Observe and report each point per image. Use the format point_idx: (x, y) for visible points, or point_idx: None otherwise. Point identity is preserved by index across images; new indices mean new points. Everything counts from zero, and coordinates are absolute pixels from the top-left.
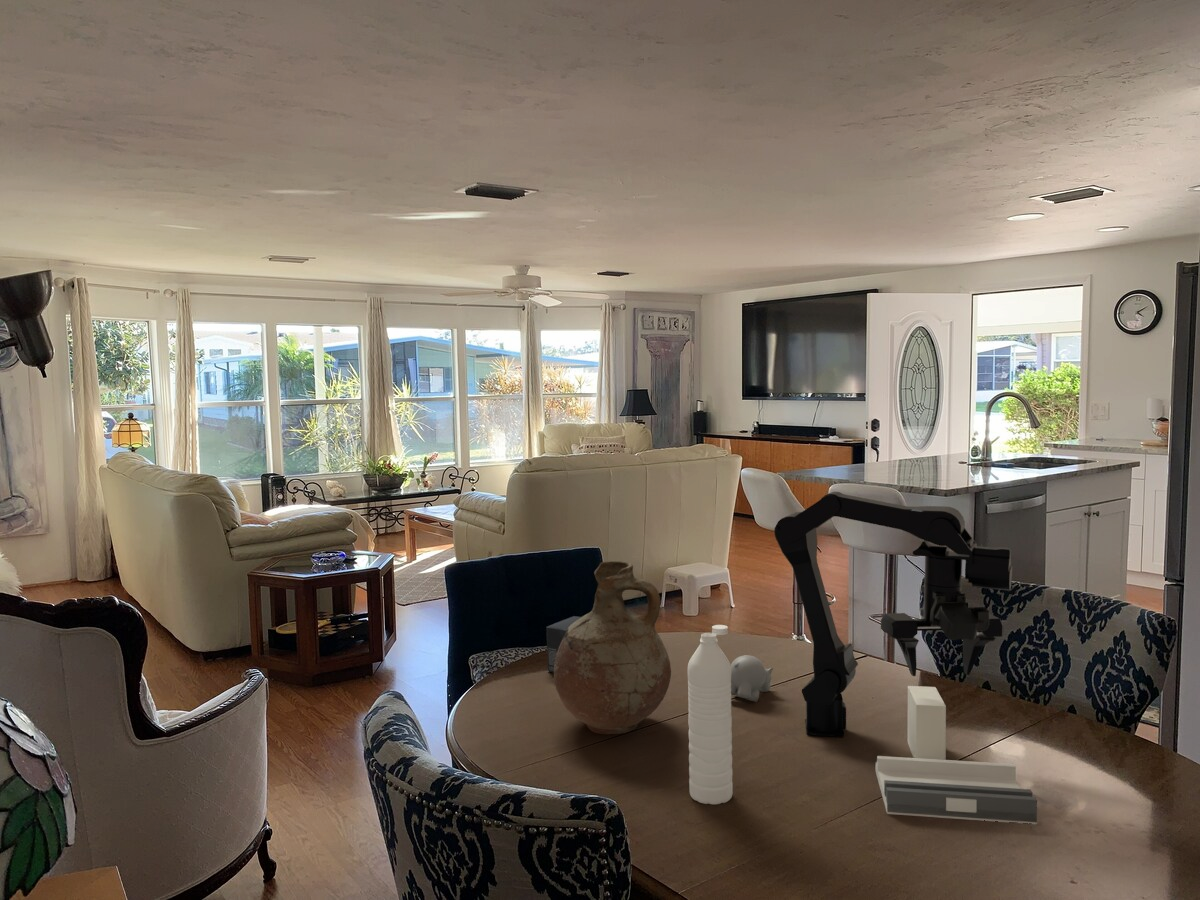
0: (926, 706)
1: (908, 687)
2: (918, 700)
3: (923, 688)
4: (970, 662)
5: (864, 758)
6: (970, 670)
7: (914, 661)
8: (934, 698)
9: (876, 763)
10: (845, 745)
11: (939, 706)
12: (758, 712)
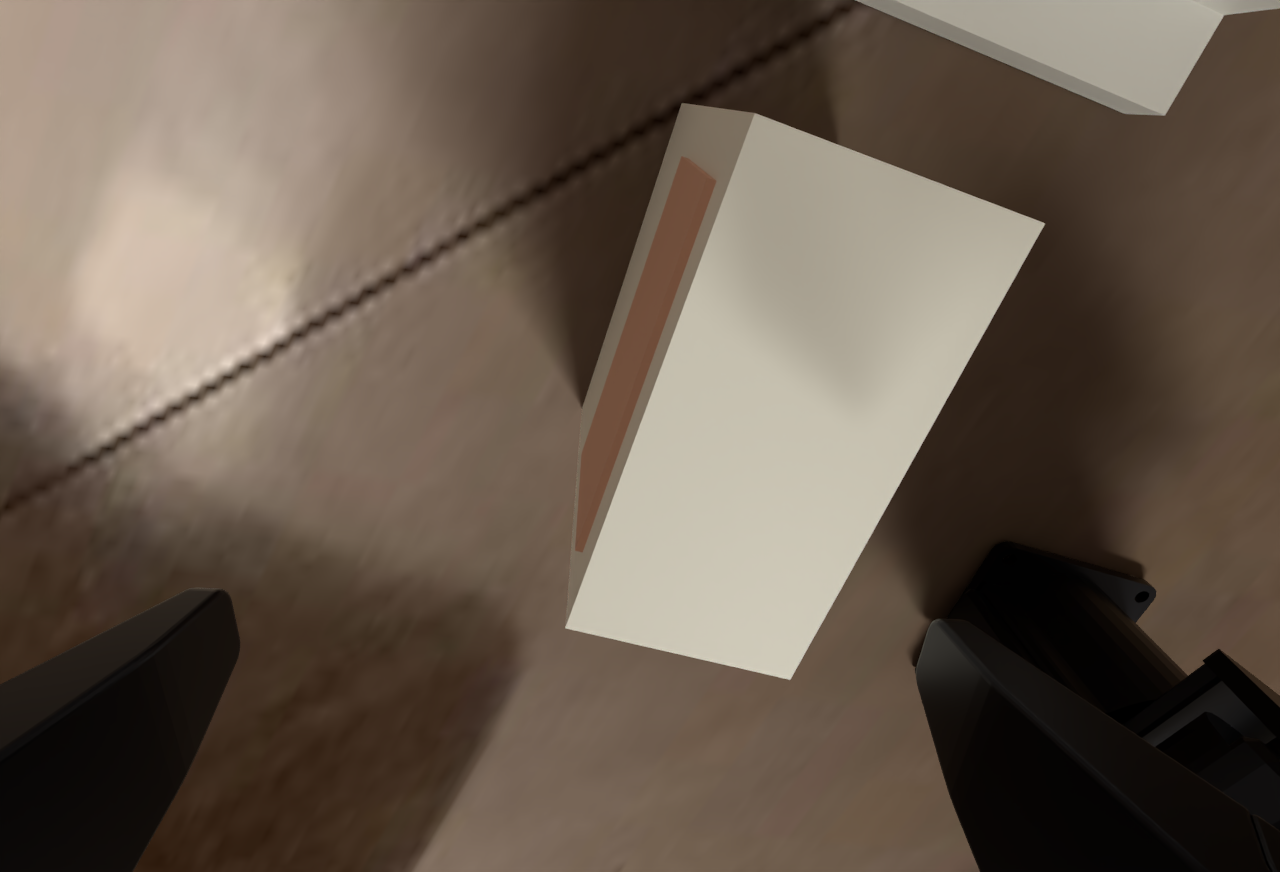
0: (943, 187)
1: (806, 649)
2: (937, 339)
3: (692, 611)
4: (57, 700)
5: (1062, 295)
6: (143, 616)
7: (1116, 767)
8: (738, 367)
9: (1175, 91)
10: (1046, 459)
11: (818, 139)
12: None
